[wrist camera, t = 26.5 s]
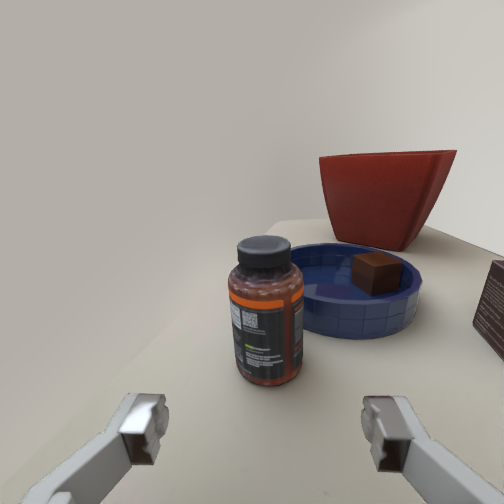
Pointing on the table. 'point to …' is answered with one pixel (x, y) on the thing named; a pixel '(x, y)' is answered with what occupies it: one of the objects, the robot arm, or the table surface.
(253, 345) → the supplement bottle
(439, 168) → the flower pot
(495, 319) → the box
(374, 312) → the bowl
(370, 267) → the block
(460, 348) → the table surface
